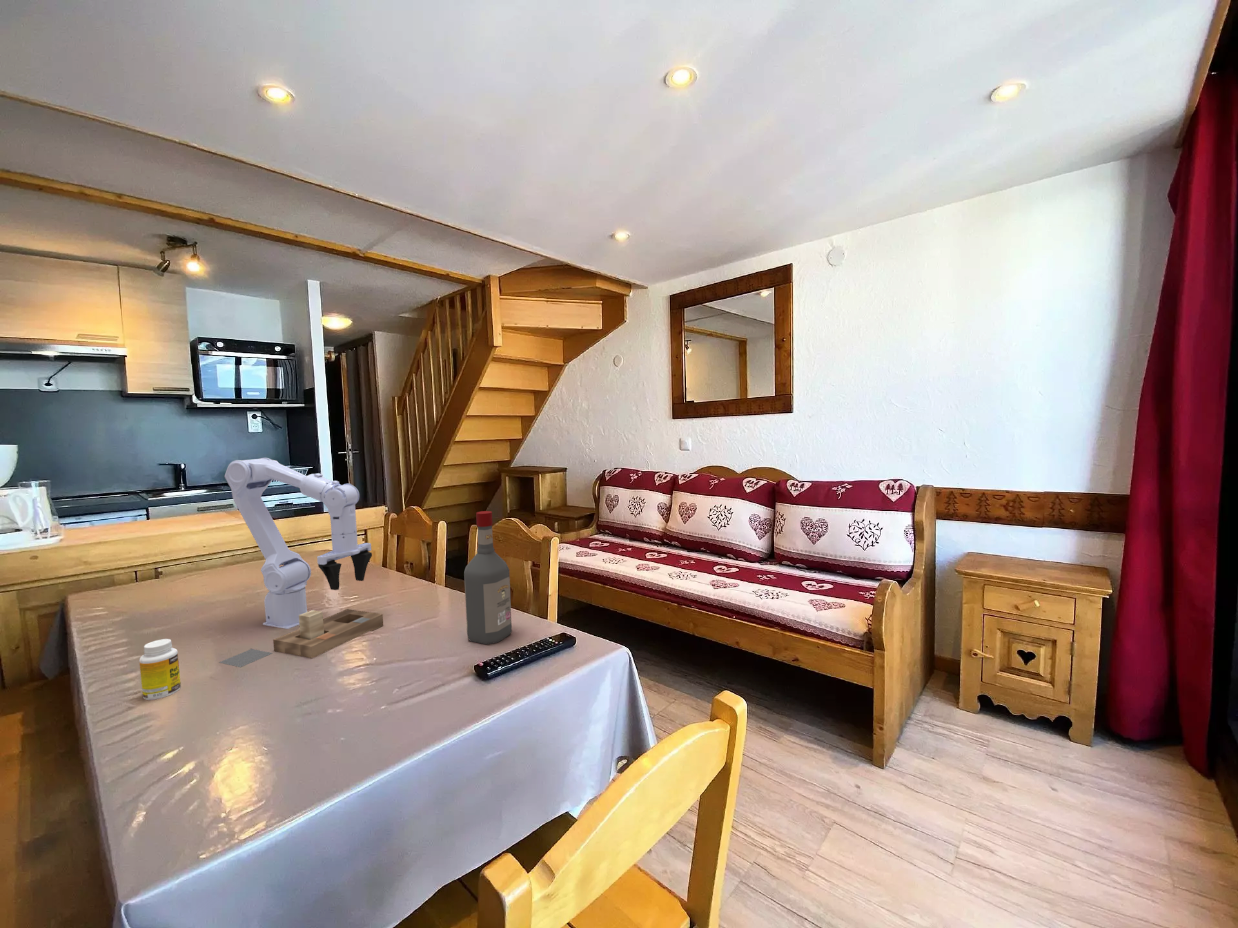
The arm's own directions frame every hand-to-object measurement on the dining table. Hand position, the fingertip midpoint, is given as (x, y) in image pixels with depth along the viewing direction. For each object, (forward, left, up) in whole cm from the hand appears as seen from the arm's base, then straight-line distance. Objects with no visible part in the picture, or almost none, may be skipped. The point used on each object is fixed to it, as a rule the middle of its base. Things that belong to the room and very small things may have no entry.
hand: (347, 584), depth 132 cm
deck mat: (-5, -23, -10) cm, 25 cm away
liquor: (+39, +5, -11) cm, 41 cm away
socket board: (+3, -8, -10) cm, 13 cm away
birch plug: (+3, -13, -10) cm, 17 cm away
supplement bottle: (-6, -38, -11) cm, 40 cm away
